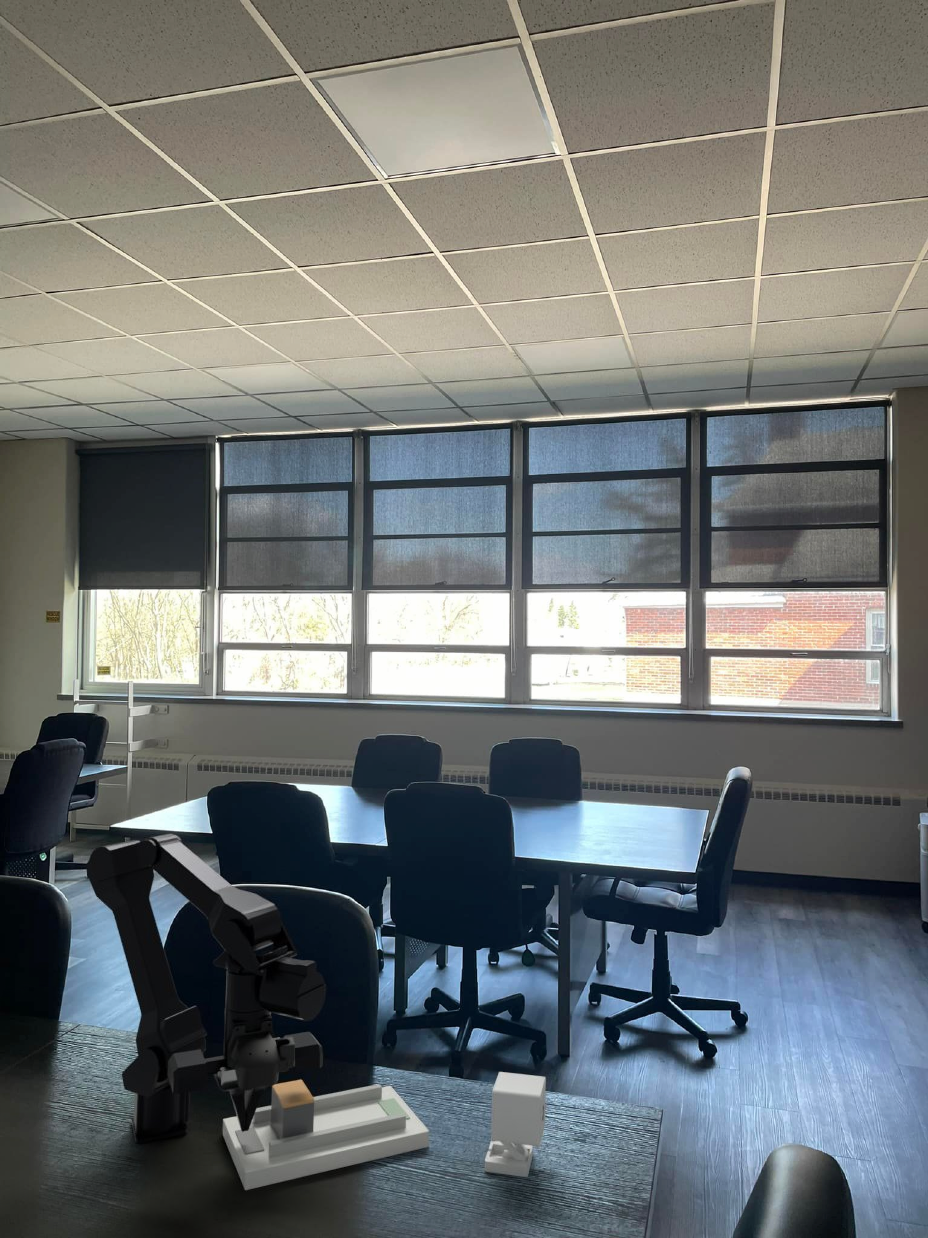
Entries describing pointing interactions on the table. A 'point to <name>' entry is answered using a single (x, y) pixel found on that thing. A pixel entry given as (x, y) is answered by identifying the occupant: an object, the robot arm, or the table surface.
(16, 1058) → the table surface
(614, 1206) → the table surface
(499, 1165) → the security camera
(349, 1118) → the white rail tray
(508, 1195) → the table surface
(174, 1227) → the table surface
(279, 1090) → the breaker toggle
